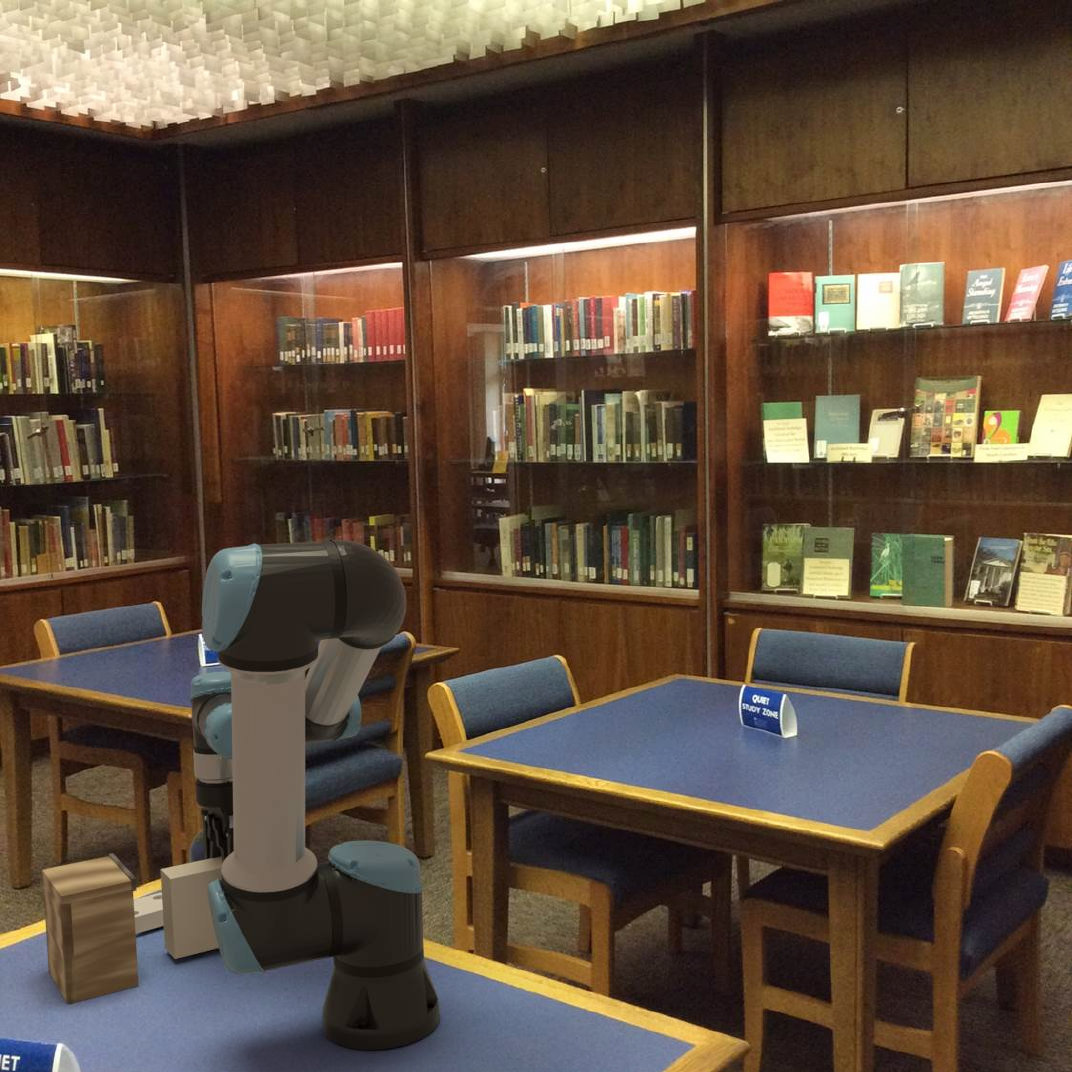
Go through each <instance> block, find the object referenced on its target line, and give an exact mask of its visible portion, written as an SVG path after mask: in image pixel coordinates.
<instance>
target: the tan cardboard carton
mask: <svg viewBox="0 0 1072 1072" xmlns="http://www.w3.org/2000/svg"><path fill="white" fill-rule="evenodd" d="M221 868H222V856H221V857H216V858H210V859H206V860H201V861H196V862H192V863H190V862H188V863H187V862H186V863H183V864H178V865H173V866H169V867H165V868H160V882H161V885H160V886H161V892H162V905H163V923H164V926H163V937H164V948H165V950H166V951H167V952H168V954H170V956H171V957H172V958H173V959H174V960H177V959H180V958H184V957H189V956H192V955H196V954H199V953H205V952H208V951H211V950H216V949H219V946H218V942H217V938H216V934H215V930H214V925H213V921H212V916H211V911H210V905H209V899H208V885H209V883H211V882H213V881H215V880H216V879H219V880H221Z"/></svg>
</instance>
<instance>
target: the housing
mask: <svg viewBox="0 0 1072 1072" xmlns="http://www.w3.org/2000/svg"><path fill="white" fill-rule="evenodd" d="M41 872H42V874H41V875H42V888H43V902H44V905H43V906H44V920H45V934H46V949H47V950H46V951H47V965H48V967H47V969H48V973H49V975H50V976H51V978H52V980H53V982H54V983H55V985H56V986H57V989H58V990H59V992H60V993H61V995H62V996H63V998H64V1000H65V1002H66V1003H67V1005H71V1004H75V1003H78V1002H83V1001H86V1000H90V999H94V998H97V997H100V996H101V997H102V996H105V995H108V994H112V993H116V992H121V991H124V990H128V989H132V988H135V987H139V973H138V972H139V971H138V954H137V953H138V951H137V938H136V937H137V936H136V935H137V934H136V932H135V915H134V900H135V899H134V892H137V878H136V877H135V875H134V874H133V873H132V872H131V871H130V870H129V869H128V868H127V867H126V866H125V865H124V864H123V863H122V861H120V859H119V858H118V857H117V856H116V855H115V854H114V853H113V852H112V853H108V856H102V857H98V858H93V859H88V860H83V861H78V862H73V863H69V864H63V865H59V866H54V867H49V868H45V869H42V870H41Z"/></svg>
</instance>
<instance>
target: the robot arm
mask: <svg viewBox="0 0 1072 1072" xmlns="http://www.w3.org/2000/svg"><path fill="white" fill-rule="evenodd" d="M206 570H207V571H206V573H205V574H206V575H205V577H204V578H205V579H204V583H203V591H202V599H201V600H202V602H201V617H202V623H201V629H202V630H201V631H202V638H203V642H204V644H205V646H206V648H207V649H208V650H211V651H214V652H217V653H216V654H217V656H216V657H217V662H218V664H219V665H220V666H221V667H222V668H224V669H225V670H226V671H213V672H206V673H201V674H198V675H196V676H194V677H193V678H192V680H191V682H190V697H189V703H190V706H191V708H190V709H191V720H192V721H191V722H192V733H193V734H192V735H193V753H192V754H193V774H194V776H195V778H197V779H196V780H195V782H194V784H195V785H194V786H195V802H196V803H197V805H198V806H200V807H201V810H200V814H201V818H202V825H203V827H202V829H203V832H204V853H205V860H206V859H210V858H216V857H221V856H222V868H221V880H219V879H216V880H215V881H213V882H211V883H209V885H208V899H209V905H210V911H211V916H212V921H213V925H214V930H215V934H216V938H217V942H218V946H219V948H218V950H219V952H220V956H221V959H222V962H223V964H224V967H225V969H226V970H227V971H228V972H229V973H231V974H232V975H237V976H241V975H247V974H253V973H254V974H255V973H261V974H264V973H266V971H272V970H276V969H281V968H286V967H291V966H295V965H301V964H305V963H309V962H314V961H315V962H316V961H319V960H325V959H328V958H329V959H330V958H333V971H332V975H331V976H330V977H331V978H330V981H329V985H328V989H327V992H326V996H325V998H324V1003H323V1007H322V1014H321V1017H322V1018H321V1019H322V1021H321V1022H322V1032H323V1033H324V1035H325V1037H326V1038H328V1039H329V1040H330V1041H331V1042H333V1043H334V1044H337V1045H339V1046H343V1047H345V1048H349V1049H354V1050H365V1051H377V1050H379V1051H380V1050H387V1049H388V1050H389V1049H394V1048H399V1047H403V1046H406V1045H409V1044H412V1043H415V1042H417V1041H419V1040H421V1039H423V1038H424V1037H426V1036H428V1035H430V1034H431V1033H432V1032H433V1031H434V1030H435V1029H436V1027H437V1026H438V1024H439V1022H440V1001H439V997H438V994H437V992H436V989H435V985H434V984H433V983H434V982H433V980H432V978H431V974H430V973H429V969H428V968H427V965H426V962H425V950H424V924H423V923H424V921H423V920H424V919H423V917H424V916H423V894H422V893H423V890H424V885H423V883H422V875H421V872H422V871H421V864H420V861H419V858H418V857H417V855H416V854H414V853H413V852H412V851H411V850H409V849H408V848H406V847H403V846H401V845H399V844H395V843H390V842H387V841H380V840H366V839H365V840H353V841H352V840H351V841H344V842H340V843H339V844H336V845H334V846H332V847H331V849H330V850H329V854H328V855H327V861H326V862H320V863H318V860H317V857H316V855H315V854H314V852H312V850H310V849H309V848H307V847H306V745H307V744H316V743H323V742H336V741H339V740H341V739H342V740H343V739H347V738H348V739H349V738H352V737H355V736H357V735H358V733H360V730H361V722H362V718H363V717H362V707H361V701H360V697H359V693H360V691H361V689H362V687H363V685H364V683H365V681H366V679H367V677H368V675H369V673H370V671H371V669H372V667H373V665H374V662H375V661H376V659H377V657H378V655H379V653H380V650H381V649H382V648H384V647H385V646H387V645H389V644H390V643H391V642H392V641H393V640H394V639H395V638H396V636H397V635H398V633H399V631H400V629H401V627H402V625H403V623H404V621H405V620H404V619H405V617H406V612H407V593H406V589H405V586H404V584H403V581H402V578H401V576H400V575H399V572H398V571H397V570H396V568H395V567H394V566H393V565H392V564H391V563H390V561H389V560H388V559H387V558H386V557H385V556H383V554H381V553H380V552H378V551H377V550H375V549H374V548H372V547H370V546H368V545H365V544H363V543H361V542H357V541H354V540H349V539H330V540H323V541H305V542H287V543H286V542H284V543H266V544H264V543H263V544H257V543H252V544H249V545H245V546H237V547H235V546H234V547H228V548H223V549H220V550H219V551H218V552H216V553H215V554H214V555H213V557H212V558H211V560H210V563H209V564H208V567H207V569H206ZM307 670H308V672H307ZM306 672H307V674H306Z"/></svg>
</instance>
